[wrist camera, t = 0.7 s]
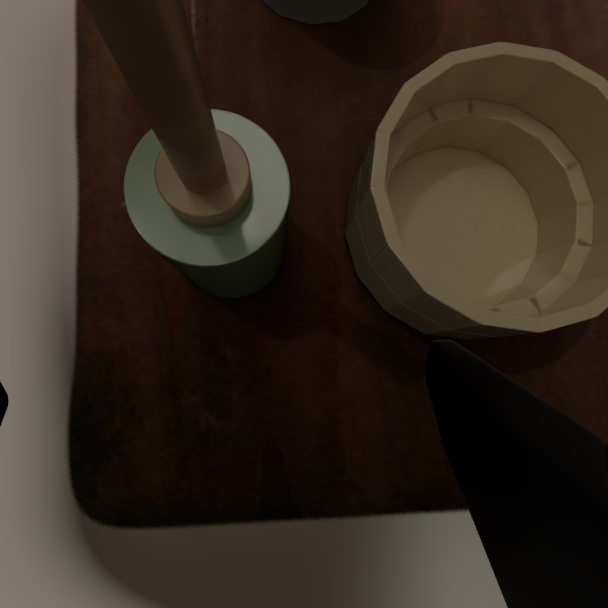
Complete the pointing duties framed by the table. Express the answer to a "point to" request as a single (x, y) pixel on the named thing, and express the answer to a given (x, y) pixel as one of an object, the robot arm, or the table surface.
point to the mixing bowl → (487, 196)
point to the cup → (316, 9)
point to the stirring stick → (176, 109)
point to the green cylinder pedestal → (225, 238)
